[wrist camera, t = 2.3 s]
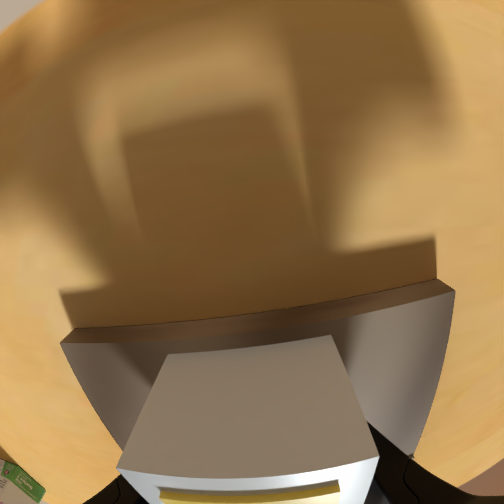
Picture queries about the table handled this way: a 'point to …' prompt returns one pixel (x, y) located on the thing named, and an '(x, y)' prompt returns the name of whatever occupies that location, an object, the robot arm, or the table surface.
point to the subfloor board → (280, 331)
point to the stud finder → (252, 429)
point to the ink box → (18, 486)
